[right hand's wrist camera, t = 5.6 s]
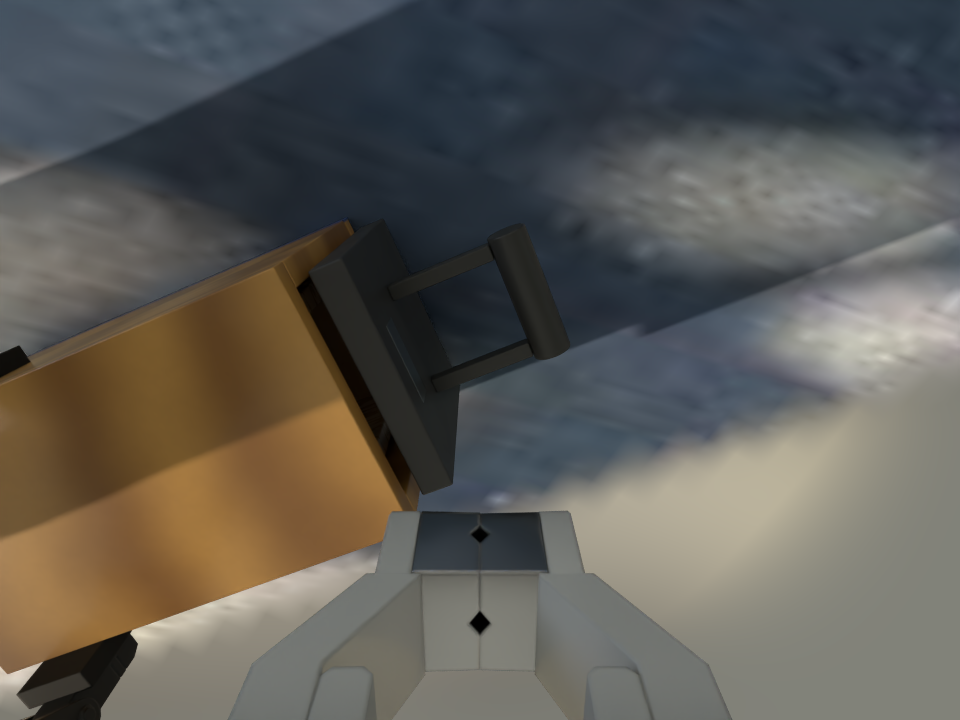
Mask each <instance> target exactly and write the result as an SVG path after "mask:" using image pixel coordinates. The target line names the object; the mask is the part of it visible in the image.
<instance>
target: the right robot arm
mask: <svg viewBox="0 0 960 720" xmlns="http://www.w3.org/2000/svg"><path fill="white" fill-rule="evenodd" d="M463 670H496V671H531V672H535V675H536V676H537V678H538V679H539V680H540V682H541V683H542V685H543V686H544V687H545V689H546V690H547V691H548V693H549V694H550V695H551V697H552V698H553V699H554V701H555V702H556V703H557V705H558V706H559V707H560V709H561V710H562V712H563V713H564V714H565V716H566V717H567V718H568V720H732V718H731V716H730V714H729V711H728V709H727V706H726V704H725V702H724V700H723V697H722V695H721V692H720V690H719V688H718V685H717V683H716V681H715V678H714V676H713V674H712V671H711V669H710V667H709V665H708V664H707V663H706V662H705V661H703V660H702V659H701V658H700V657H698V656H697V655H696V654H695V653H693V652H692V651H691V650H690V649H688V648H687V647H686V646H684V645H683V644H682V643H681V642H679V641H678V640H677V639H676V638H674V637H673V636H672V635H671V634H669V633H668V632H667V631H666V630H664V629H663V628H662V627H661V626H659V625H658V624H657V623H656V622H654V621H653V620H652V619H650V618H649V617H648V616H647V615H645V614H644V613H643V612H642V611H640V610H639V609H638V608H637V607H635V606H634V605H633V604H632V603H630V602H629V601H628V600H627V599H625V598H624V597H623V596H622V595H620V594H619V593H618V592H617V591H615V590H614V589H613V588H611V587H610V586H609V585H608V584H606V583H605V582H604V581H603V580H601V579H600V578H599V577H598V576H596V575H595V574H593V573H585V571H584V567H583V563H582V559H581V554H580V550H579V546H578V542H577V538H576V534H575V530H574V526H573V521H572V517H571V514H570V513H569V512H568V511H547V512H526V513H478V512H430V511H422V513H421V512H420V511H392V512H391V513H390V515H389V517H388V521H387V525H386V529H385V533H384V538H383V542H382V546H381V550H380V554H379V558H378V563H377V567H376V571H375V573H367V574H365V575H364V576H362V577H361V578H360V579H359V580H357V581H356V582H355V583H354V584H352V585H351V586H350V587H348V588H347V589H346V590H345V591H343V592H342V593H341V594H340V595H338V596H337V597H336V598H335V599H333V600H332V601H331V602H329V603H328V604H327V605H326V606H324V607H323V608H322V609H321V610H319V611H318V612H317V613H316V614H314V615H313V616H312V617H311V618H309V619H308V620H307V621H305V622H304V623H303V624H302V625H300V626H299V627H298V628H297V629H295V630H294V631H293V632H292V633H290V634H289V635H288V636H287V637H285V638H284V639H283V640H281V641H280V642H279V643H278V644H276V645H275V646H274V647H273V648H271V649H270V650H269V651H268V652H266V653H265V654H264V655H262V656H261V657H260V658H259V659H257V660H256V661H255V662H254V663H252V665H251V667H250V670H249V672H248V674H247V677H246V679H245V681H244V684H243V686H242V688H241V691H240V693H239V695H238V698H237V700H236V702H235V704H234V707H233V709H232V711H231V714H230V716H229V718H228V720H392V719H393V717H394V716H395V715H396V713H397V712H398V711H399V709H400V708H401V707H402V705H403V704H404V703H405V701H406V700H407V699H408V697H409V696H410V695H411V693H412V692H413V691H414V689H415V688H416V687H417V685H418V684H419V682H420V681H421V680H422V678H423V677H424V676H425V672H428V671H463Z"/></svg>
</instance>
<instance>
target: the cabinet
mask: <svg viewBox="0 0 960 720" xmlns="http://www.w3.org/2000/svg"><path fill="white" fill-rule="evenodd" d="M353 234H354V231H353V229H352V227H351V225H350V223H349V220H348V217H346V218H344V219H342V220H339V221H337V222H335V223H332V224H330V225H328V226H326V227H323V228H321V229H319V230H316V231H314V232H312V233H309V234H307V235H305V236H303V237H300V238H298V239H296V240H293V241H291V242H289V243H286V244H284V245H282V246H279V247H277V248H275V249H273V250H270V251H268V252H266V253H263V254H261V255H259V256H256V257H254V258H252V259H250V260H247V261H245V262H243V263H240V264H238V265H236V266H233V267H231V268H229V269H226V270H224V271H222V272H220V273H217V274H215V275H213V276H210V277H208V278H206V279H203V280H201V281H199V282H197V283H194V284H192V285H190V286H187V287H185V288H183V289H180V290H178V291H176V292H173V293H171V294H169V295H167V296H164V297H162V298H160V299H157V300H155V301H153V302H150V303H148V304H146V305H143V306H141V307H139V308H137V309H134V310H132V311H130V312H127V313H125V314H123V315H120V316H118V317H116V318H114V319H111V320H109V321H107V322H104V323H102V324H100V325H97V326H95V327H93V328H90V329H88V330H86V331H84V332H81V333H79V334H77V335H74V336H72V337H70V338H67V339H65V340H63V341H61V342H58V343H56V344H54V345H51V346H49V347H47V348H44V349H42V350H40V351H38V352H36V353H34V354H32V355H30V356H28V358H29V360H30V361H31V362H29V363H27V364H25V365H24V366H22V367H20V368H18V369H16V370H14V371H12V372H10V373H8V374H6V375H4V376H2V377H0V667H1V668H2V669H3V670H4V671H5V672H6V673H7V674H10V673H12V672H15V671H18V670H21V669H24V668H27V667H29V666H32V665H35V664H38V663H41V662H43V661H46V660H49V659H52V658H55V657H58V656H60V655H63V654H66V653H69V652H72V651H74V650H77V649H80V648H83V647H86V646H88V645H91V644H94V643H97V642H100V641H103V640H105V639H108V638H111V637H114V636H117V635H119V634H122V633H125V632H128V631H131V630H133V629H136V628H139V627H142V626H145V625H148V624H150V623H153V622H156V621H159V620H162V619H164V618H167V617H170V616H173V615H176V614H179V613H181V612H184V611H187V610H190V609H193V608H195V607H198V606H201V605H204V604H207V603H209V602H212V601H215V600H218V599H221V598H224V597H226V596H229V595H232V594H235V593H238V592H240V591H243V590H246V589H249V588H252V587H254V586H257V585H260V584H263V583H266V582H269V581H271V580H274V579H277V578H280V577H283V576H285V575H288V574H291V573H294V572H297V571H300V570H302V569H305V568H308V567H311V566H314V565H316V564H319V563H322V562H325V561H328V560H330V559H333V558H336V557H339V556H342V555H345V554H347V553H350V552H353V551H356V550H359V549H361V548H364V547H367V546H370V545H373V544H376V543H378V542H381V541H383V538H384V533H385V529H386V525H387V521H388V517H389V515H390V513H391V512H392V511H417V505H418V499H419V492H420V489H419V487H418V485H417V483H416V481H415V479H414V477H413V475H412V473H411V471H410V469H409V467H408V465H407V463H406V462H405V460H404V458H403V456H402V454H401V452H400V450H399V448H398V446H397V444H396V442H395V440H394V438H393V436H392V434H391V437H390V440H389V444H388V447H387V451H386V455H384V453H383V451H382V449H381V447H380V445H379V443H378V442H377V440H376V438H375V436H374V434H373V432H372V430H371V428H370V426H369V425H368V423H367V421H366V419H365V417H364V415H363V413H362V411H361V409H360V408H359V406H358V404H357V402H356V400H355V398H354V396H353V394H352V392H351V390H350V389H349V387H348V385H347V383H346V381H345V379H344V377H343V375H342V373H341V372H340V370H339V368H338V366H337V364H336V362H335V360H334V358H333V356H332V354H331V353H330V351H329V349H328V347H327V345H326V343H325V341H324V339H323V337H322V336H321V334H320V332H319V330H318V328H317V326H316V324H315V322H314V320H313V319H312V317H311V315H310V313H309V311H308V309H307V307H306V305H305V303H304V301H303V300H302V298H301V296H300V294H299V292H298V290H297V287H298V286H299V285H300V284H301V283H302V282H304V281H305V280H306V279H307V278H308V277H309V274H308V272H309V271H310V270H311V269H312V268H313V267H314V266H316V265H317V264H318V263H319V262H320V261H322V260H323V259H324V258H325V257H326V256H328V255H329V254H330V253H331V252H332V251H334V250H335V249H336V248H337V247H338V246H340V245H341V244H342V243H343V242H344V241H346V240H347V239H348V238H349V237H350V236H351V235H353Z"/></svg>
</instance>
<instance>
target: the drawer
mask: <svg viewBox="0 0 960 720" xmlns="http://www.w3.org/2000/svg"><path fill="white" fill-rule="evenodd" d="M487 241H488V243H486V244H484V245H482V246H479V247H477V248H474V249H472V250H469V251H467V252H465V253H462V254H460V255H457V256H455V257H453V258H450V259H448V260H445V261H443V262H441V263H438V264H436V265H433V266H431V267H428V268H426V269H424V270H421V271H419V272H416V273H414V274H412V275H409V273H408V271H407V269H406V267H405V265H404V262H403V260H402V258H401V256H400V254H399V252H398V249H397V247H396V245H395V243H394V241H393V239H392V236H391V234H390V232H389V230H388V228H387V225H386V223H385V221H384V219H380V220H378V221H375V222H373V223H371V224H368V225H366V226H364V227H361V228H360V229H359V230H357V231H356V232H355V233H354V234H353V235H351V236H350V237H349V238H348V239H347V240H346V241H344V242H343V243H342V244H341V245H340V246H338V247H337V248H336V249H335V250H334V251H332V252H331V253H330V254H329V255H328V256H326V257H325V258H324V259H323V260H322V261H320V262H319V263H318V264H317V265H316V266H314V267H313V268H312V269H311V270H310V271H309V272H308V274H309V277H308V278H307V279H306V280H305V281H304V282H302V283H301V284H300V285H299V286H298V287H297V290H298V292H299V294H300V296H301V298H302V300H303V301H304V303H305V305H306V307H307V309H308V311H309V313H310V315H311V317H312V319H313V320H314V322H315V324H316V326H317V328H318V330H319V332H320V334H321V336H322V337H323V339H324V341H325V343H326V345H327V347H328V349H329V351H330V353H331V354H332V356H333V358H334V360H335V362H336V364H337V366H338V368H339V370H340V372H341V373H342V375H343V377H344V379H345V381H346V383H347V385H348V387H349V389H350V390H351V392H352V394H353V396H354V398H355V400H356V402H357V404H358V406H359V408H360V409H361V411H362V413H363V415H364V417H365V419H366V421H367V423H368V425H369V426H370V428H371V430H372V432H373V434H374V436H375V438H376V440H377V442H378V443H379V445H380V447H381V449H382V451H383V453H384V455H386V451H387V447H388V444H389V440H390V437H391V434H392V436H393V438H394V440H395V442H396V444H397V446H398V448H399V450H400V452H401V454H402V456H403V458H404V460H405V462H406V463H407V465H408V467H409V469H410V471H411V473H412V475H413V477H414V479H415V481H416V483H417V485H418V487H419V489H420V491H421V492H422V494H423V495H425V494H428V493H431V492H433V491H436V490H439V489H442V488H444V487H447V486H450V485H452V484H453V473H454V459H455V445H456V431H457V417H458V403H459V389H460V384H462V383H464V382H467V381H469V380H472V379H475V378H477V377H480V376H482V375H485V374H488V373H490V372H493V371H495V370H498V369H501V368H503V367H506V366H508V365H511V364H514V363H516V362H519V361H521V360H524V359H527V358H529V357H532V356H533V354H534V357H535V358H536V359H538V360H546V359H550V358H553V357H556V356H558V355H560V354H562V353H564V352H565V351H566V350H567V349H568V348H569V347H570V341H569V339H568V336H567V333H566V331H565V328H564V326H563V323H562V320H561V318H560V315H559V313H558V310H557V307H556V305H555V302H554V300H553V297H552V294H551V292H550V289H549V286H548V284H547V281H546V279H545V276H544V273H543V271H542V268H541V266H540V263H539V260H538V258H537V255H536V252H535V250H534V247H533V245H532V242H531V239H530V237H529V234H528V232H527V229H526V226H525V224H523V223H520V224H515V225H512V226H509V227H506V228H504V229H502V230H500V231H497V232H496V233H494V234H492V235H491V236H489V237H488V238H487ZM494 258H495V261H496V263H497V266H498V268H499V271H500V273H501V276H502V278H503V280H504V283H505V285H506V288H507V290H508V293H509V295H510V298H511V300H512V303H513V305H514V307H515V310H516V312H517V315H518V317H519V320H520V322H521V325H522V327H523V330H524V332H525V334H526V337H527V339H524V340H522V341H519V342H517V343H514V344H511V345H509V346H506V347H504V348H501V349H499V350H496V351H493V352H491V353H488V354H486V355H483V356H481V357H478V358H475V359H473V360H470V361H468V362H465V363H463V364H460V365H458V366H455V367H451V365H450V362H449V360H448V358H447V356H446V354H445V352H444V349H443V347H442V345H441V343H440V341H439V339H438V336H437V334H436V332H435V330H434V328H433V326H432V323H431V321H430V319H429V317H428V315H427V312H426V310H425V308H424V306H423V304H422V302H421V299H420V297H419V295H418V293H417V292H418V291H420V290H422V289H425V288H427V287H430V286H432V285H435V284H437V283H440V282H442V281H444V280H447V279H449V278H452V277H454V276H457V275H459V274H461V273H464V272H466V271H469V270H471V269H474V268H476V267H479V266H481V265H483V264H486V263H488V262H491V261H493V260H494Z"/></svg>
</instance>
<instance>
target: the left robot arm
mask: <svg viewBox="0 0 960 720" xmlns="http://www.w3.org/2000/svg"><path fill="white" fill-rule="evenodd" d="M29 362H31V361H30V360H29V358H28V357H27V356H26V354H25V353H24V351H23V350H22V349H21V347H20V346H17V347H14V348H12V349H10V350H7V351H5V352H3V353H1V354H0V377H2V376H4V375H6V374H8V373H10V372H12V371H14V370H16V369H18V368H20V367H22V366H24V365H25V364H27V363H29ZM131 631H132V630H131ZM131 631H128V632H125V633H122V634H119V635H117V636H114V637H111V638H108V639H105V640H103V641H100V642H97V643H94V644H91V645H88V646H86V647H83V648H80V649H77V650H74V651H72V652H69V653H66V654H63V655H60V656H58V657H55V658H52V659H49V660H46V661H44V662H43V663H42V664H41V665H40V667H39V668H38V669H37V670H36V671H35V673H34V674H33V675H32V676H31V678H30V679H29V680H28V681H27V682H26V684H25V685H24V686H23V687H22V689H21V690H20V691H19V692H18V693H17V696H18V697H19V698H20V699H21V700H22V702H23V703H24V704H25V705H26V706H27V707H28V708H29V709H31V708H34V707H37V706H40V705H42V706H41V708H40V709H39V710H38V712H37V713H36V714H35V715H33V716H30V717H27V718H24V719H21V720H100V717H101V707H102V706H103V704H104V703H105V701H106V700H107V698H108V697H109V695H110V693H111V692H112V690H113V689H114V687H115V686H116V684H117V683H118V681H119V680H120V677H121V676H122V675H123V674H124V672H125V671H126V668H127V667H128V666H129V664H130V663H131V661H132V660H133V658H134V656H135V653H136V649H137V645H138V643H137V642H136V641H135V639H134V638H133V637H132V635H131V634H130V633H131Z"/></svg>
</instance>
